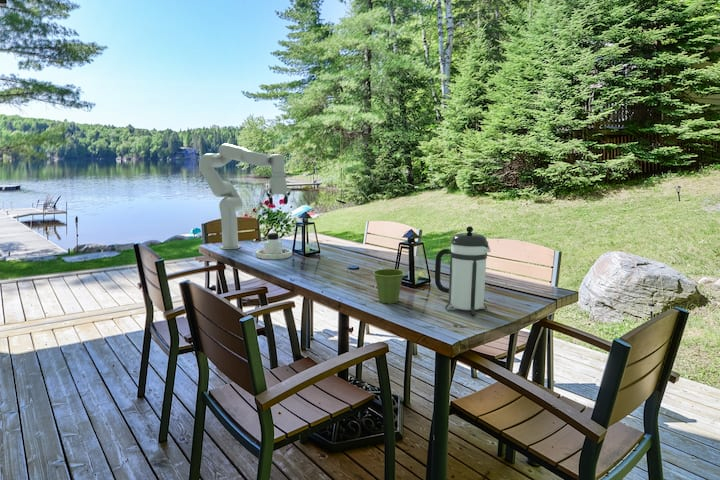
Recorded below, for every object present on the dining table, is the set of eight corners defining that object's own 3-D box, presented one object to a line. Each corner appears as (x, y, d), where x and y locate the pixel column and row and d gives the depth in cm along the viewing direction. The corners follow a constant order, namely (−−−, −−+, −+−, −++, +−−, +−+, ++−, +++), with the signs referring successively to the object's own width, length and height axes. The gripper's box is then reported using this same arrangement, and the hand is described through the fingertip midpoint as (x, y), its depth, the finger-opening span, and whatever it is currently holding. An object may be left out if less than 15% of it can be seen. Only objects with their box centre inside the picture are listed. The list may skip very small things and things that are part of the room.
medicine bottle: (282, 253, 249) (281, 233, 247) (273, 255, 243) (272, 234, 242) (273, 252, 253) (272, 232, 251) (264, 254, 247) (263, 233, 246)
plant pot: (384, 294, 173) (385, 267, 171) (410, 300, 165) (410, 271, 163) (366, 301, 164) (366, 272, 162) (392, 307, 156) (392, 277, 154)
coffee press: (479, 302, 163) (483, 223, 158) (493, 316, 148) (498, 229, 143) (433, 302, 163) (436, 223, 158) (442, 316, 147) (446, 229, 142)
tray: (250, 254, 250) (250, 249, 250) (281, 251, 262) (281, 246, 262) (265, 260, 234) (265, 255, 234) (297, 256, 246) (297, 251, 246)
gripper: (287, 175, 267) (288, 202, 270) (261, 175, 257) (262, 204, 260) (293, 175, 261) (294, 203, 264) (267, 175, 251) (268, 204, 254)
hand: (278, 203), depth 262 cm, fingers open, 9 cm apart
